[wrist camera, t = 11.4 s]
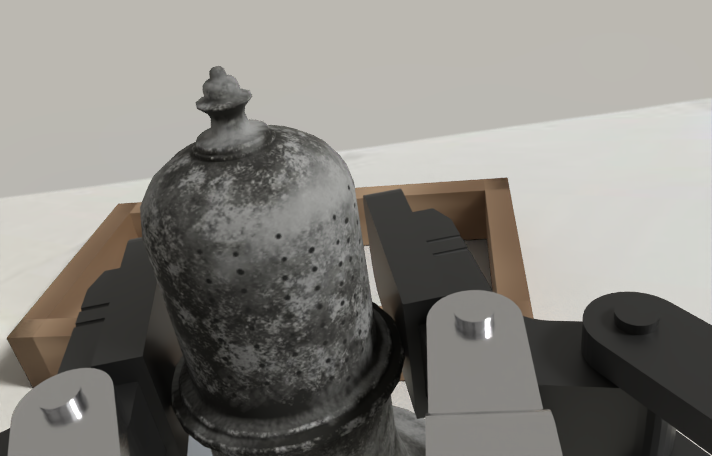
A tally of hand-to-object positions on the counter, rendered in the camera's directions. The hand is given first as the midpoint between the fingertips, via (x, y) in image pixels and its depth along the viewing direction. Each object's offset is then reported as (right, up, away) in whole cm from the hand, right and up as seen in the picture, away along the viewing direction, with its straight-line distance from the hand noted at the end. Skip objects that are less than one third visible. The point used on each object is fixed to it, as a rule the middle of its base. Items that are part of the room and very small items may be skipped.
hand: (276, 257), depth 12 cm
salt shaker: (+2, -8, +1) cm, 8 cm away
